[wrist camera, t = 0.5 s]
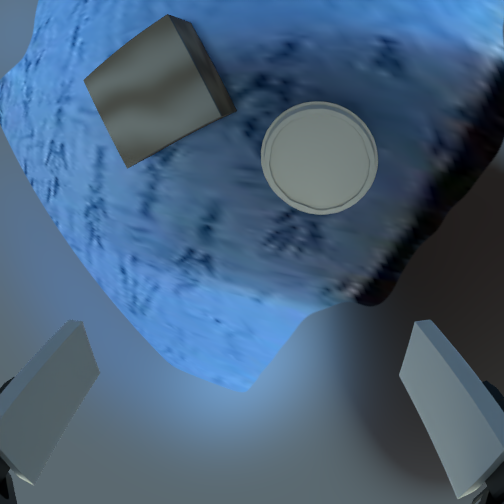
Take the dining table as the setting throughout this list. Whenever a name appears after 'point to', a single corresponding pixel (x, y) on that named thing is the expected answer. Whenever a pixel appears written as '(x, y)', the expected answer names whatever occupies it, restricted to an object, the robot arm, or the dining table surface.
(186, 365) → the dining table surface
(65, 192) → the dining table surface
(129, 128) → the block
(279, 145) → the disposable coffee cup
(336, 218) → the dining table surface
